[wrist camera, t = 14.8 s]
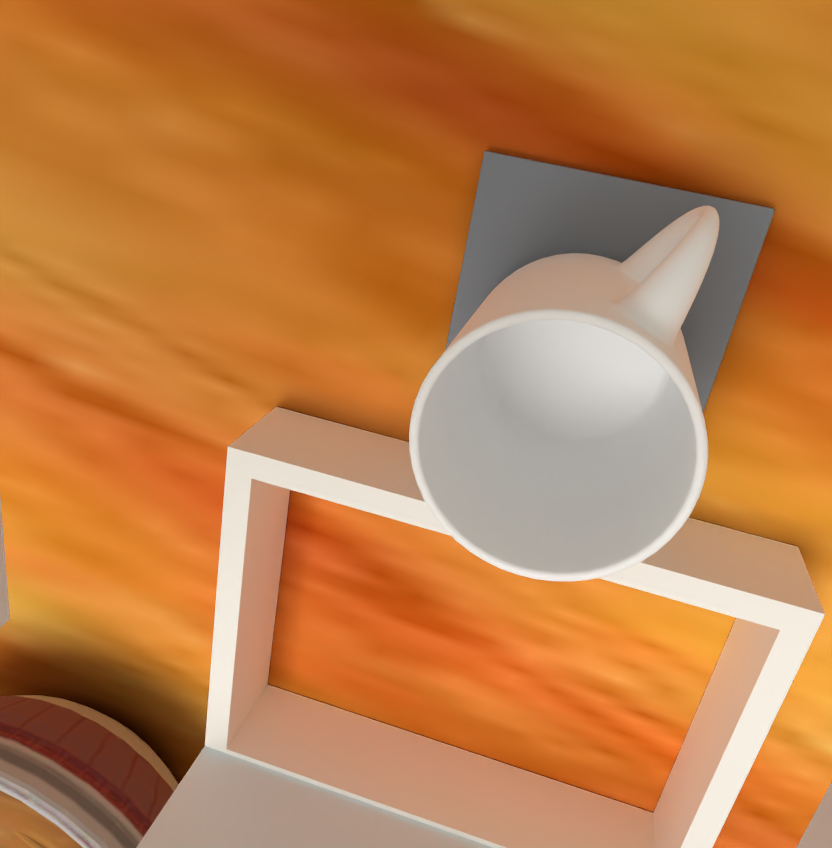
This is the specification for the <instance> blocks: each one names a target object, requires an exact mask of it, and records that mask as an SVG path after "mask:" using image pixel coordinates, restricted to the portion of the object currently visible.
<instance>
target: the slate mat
mask: <svg viewBox="0 0 832 848" xmlns="http://www.w3.org/2000/svg"><path fill="white" fill-rule="evenodd" d="M701 206H711V207H714V208H715V209H716V211H717V213H718V215H719V232H718V238H717V242H716V246H715V249H714V253H713V256H712V258H711V261H710V264H709V267H708V269H707V272H706V274H705V276H704V279H703V281H702V284H701V286H700V288H699V290H698V292H697V295H696V297H695V299H694V301H693V303H692V305H691V307H690V309H689V311H688V314H687V316H686V318H685V320H684V322H683V324H682V326H681V331H682V334H683V337H684V341H685V345H686V349H687V352H688V356H689V360H690V364H691V368H692V372H693V376H694V380H695V384H696V388H697V392H698V396H699V400H700V404H701V407H702V411H703V412H704V409H705V406H706V403H707V400H708V397H709V395H710V392H711V389H712V386H713V383H714V380H715V378H716V375H717V372H718V369H719V366H720V364H721V361H722V358H723V355H724V352H725V349H726V347H727V344H728V341H729V338H730V335H731V332H732V330H733V327H734V324H735V321H736V318H737V316H738V313H739V310H740V307H741V304H742V301H743V299H744V296H745V293H746V290H747V287H748V284H749V282H750V279H751V276H752V273H753V270H754V268H755V265H756V262H757V259H758V256H759V253H760V251H761V248H762V245H763V242H764V239H765V236H766V234H767V231H768V228H769V225H770V222H771V220H772V217H773V214H774V211H775V209H773V208H770V207H765V206H760V205H755V204H750V203H745V202H740V201H735V200H730V199H725V198H720V197H715V196H710V195H705V194H700V193H695V192H690V191H685V190H680V189H675V188H670V187H665V186H660V185H655V184H650V183H646V182H641V181H636V180H631V179H626V178H621V177H616V176H611V175H606V174H601V173H596V172H591V171H586V170H581V169H576V168H571V167H566V166H561V165H556V164H551V163H546V162H541V161H536V160H531V159H526V158H521V157H516V156H511V155H506V154H501V153H496V152H491V151H484V156H483V161H482V166H481V172H480V177H479V182H478V187H477V192H476V197H475V202H474V207H473V212H472V217H471V223H470V228H469V233H468V238H467V243H466V248H465V253H464V258H463V263H462V269H461V274H460V279H459V284H458V289H457V294H456V299H455V304H454V309H453V314H452V320H451V325H450V330H449V335H448V340H447V345H446V349H447V347H448V346H449V345H450V344H451V342H452V341H453V340H454V338H455V337H456V336H457V335H458V333H459V332H460V331H461V329H462V328H463V327H464V326H465V324H466V323H467V322H468V321H469V319H470V318H471V317H472V315H473V314H474V313H475V312H476V310H477V309H478V308H479V306H480V305H481V304H482V303H483V301H484V300H485V299H486V298H487V296H488V295H489V294H490V293H491V292H492V290H493V289H494V288H495V287H497V286H498V285H499V284H500V283H501V282H502V281H503V280H504V279H505V278H507V277H508V276H509V275H511V274H512V273H514V272H515V271H516V270H518V269H520V268H522V267H523V266H525V265H527V264H529V263H531V262H534V261H537V260H539V259H542V258H545V257H549V256H554V255H558V254H568V253H585V254H592V255H598V256H603V257H606V258H609V259H613V260H616V261H618V262H621V263H622V262H624V261H625V260H627V259H628V258H629V257H630V256H631V255H633V254H634V253H635V252H636V251H637V250H638V249H640V248H641V247H642V246H643V245H644V244H646V243H647V242H648V241H649V240H650V239H652V238H653V237H654V236H655V235H656V234H658V233H659V232H660V231H661V230H663V229H664V228H665V227H667V226H668V225H669V224H671V223H672V222H673V221H675V220H676V219H678V218H679V217H681V216H682V215H684V214H686V213H687V212H689V211H691V210H693V209H695V208H698V207H701Z"/></svg>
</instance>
